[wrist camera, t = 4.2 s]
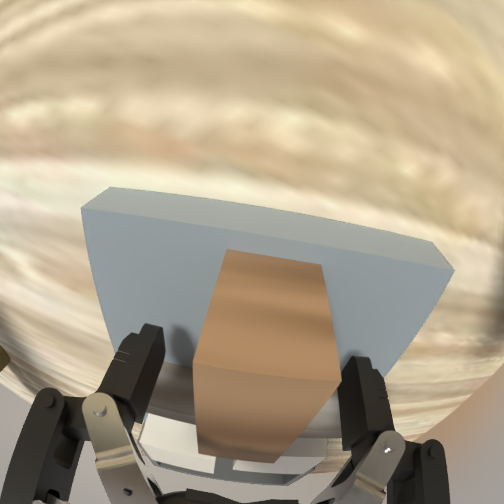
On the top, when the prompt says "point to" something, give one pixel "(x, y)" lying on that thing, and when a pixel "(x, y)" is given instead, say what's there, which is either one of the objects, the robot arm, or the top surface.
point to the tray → (233, 472)
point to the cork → (3, 358)
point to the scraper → (258, 362)
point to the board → (258, 242)
